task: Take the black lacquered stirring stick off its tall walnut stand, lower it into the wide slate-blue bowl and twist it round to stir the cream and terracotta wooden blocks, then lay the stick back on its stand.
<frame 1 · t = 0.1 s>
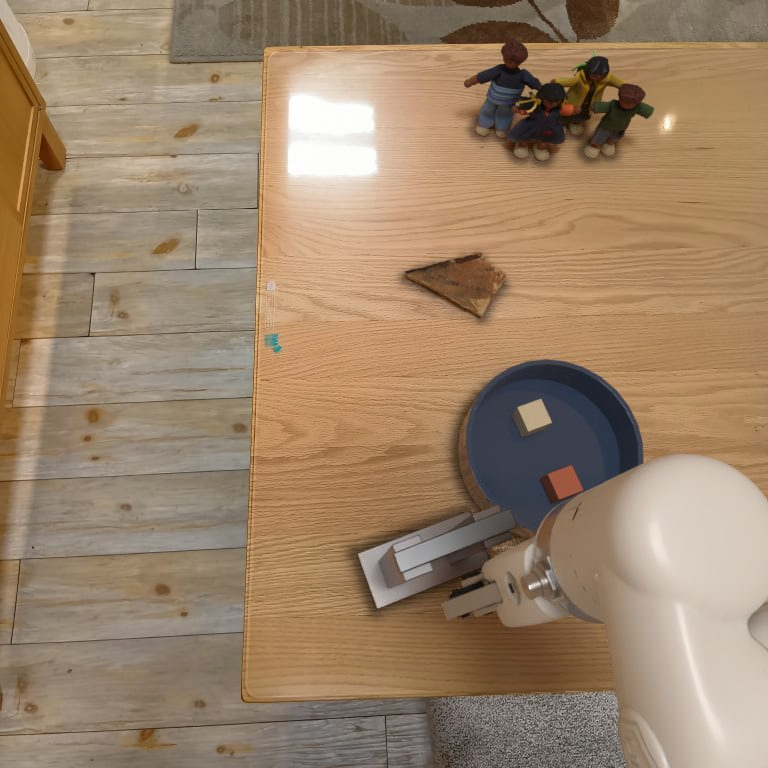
hand: (526, 572, 56), 18 cm above the table, tool pointing down, fingers open, 9 cm apart
terracotta block: (557, 486, 76), point 1 cm above the table, touching bowl
bowl: (540, 455, 78), on the table
stick stand: (423, 559, 74), on the table
shard: (458, 293, 84), on the table
stirring stick: (453, 541, 55), point 20 cm above the table, touching stick stand
cream block: (527, 421, 79), point 1 cm above the table, touching bowl
doll family: (541, 135, 92), on the table
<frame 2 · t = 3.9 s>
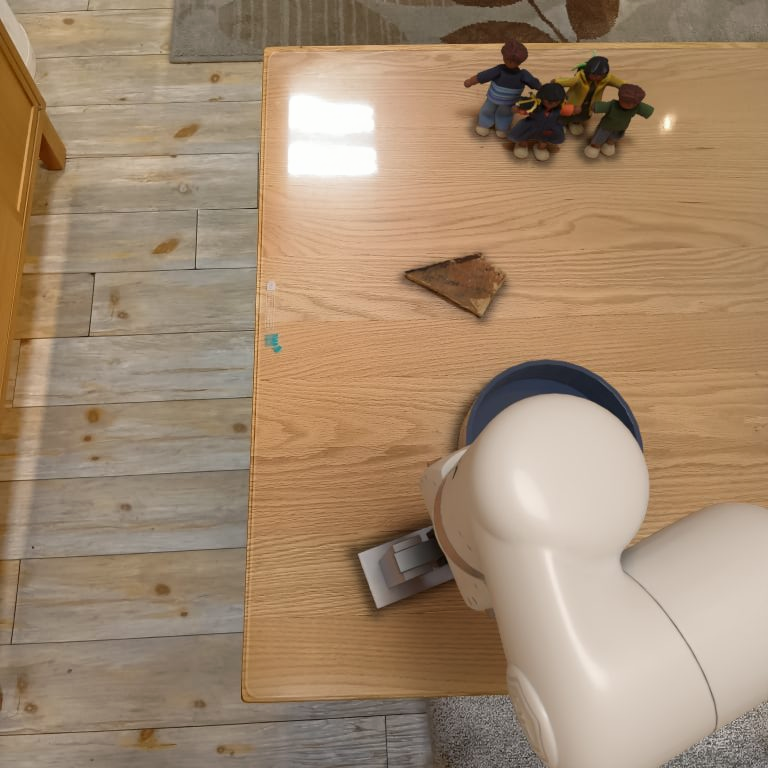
hand: (450, 543, 56), 19 cm above the table, tool pointing down, fingers closed on stirring stick, 1 cm apart
stirring stick: (453, 542, 55), point 20 cm above the table, touching gripper, stick stand
everything else where it was.
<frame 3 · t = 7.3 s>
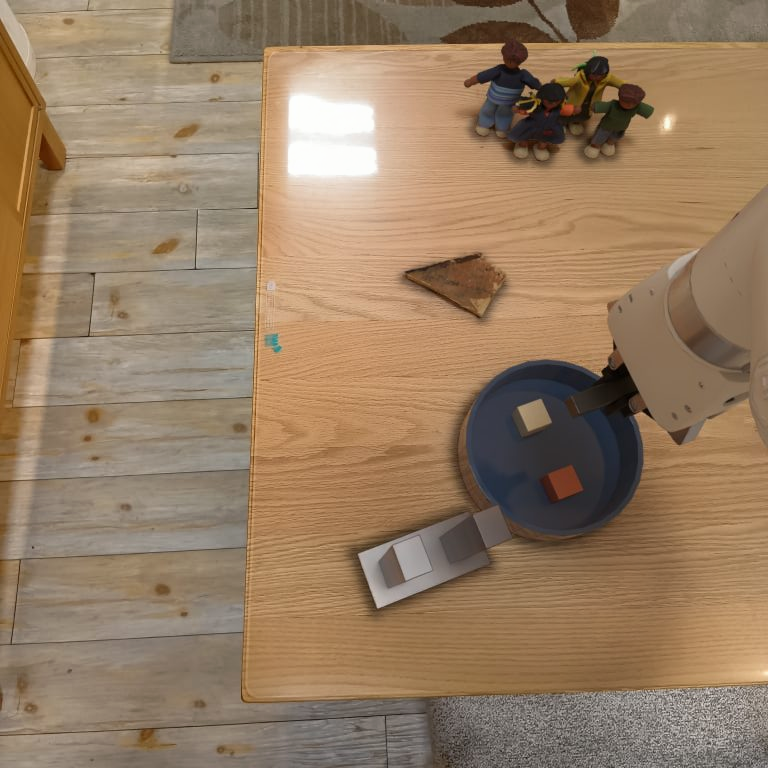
hand: (615, 395, 57), 22 cm above the table, tool pointing down, fingers closed on stirring stick, 1 cm apart
stirring stick: (622, 390, 56), point 24 cm above the table, touching gripper
everything else where it was.
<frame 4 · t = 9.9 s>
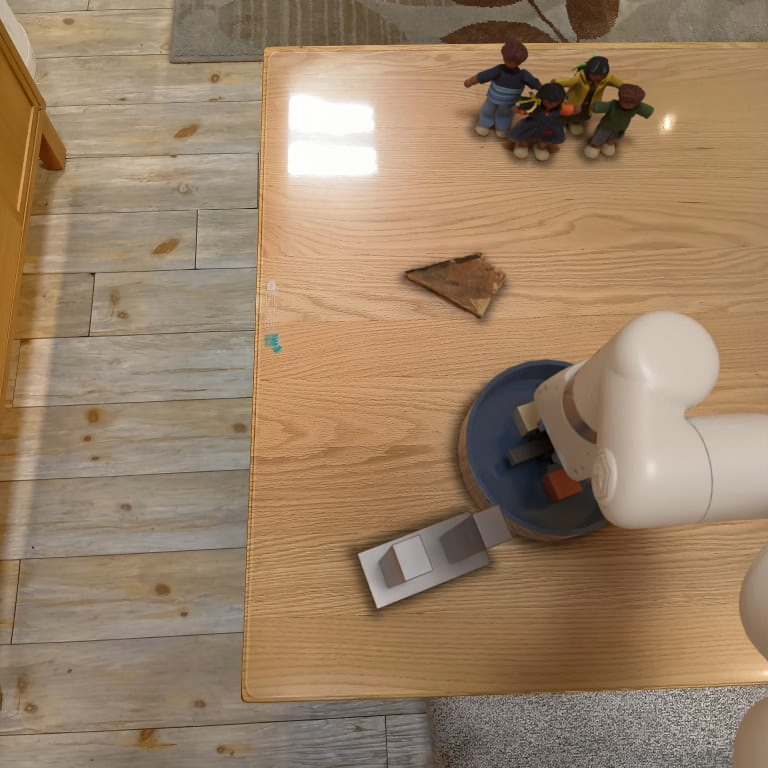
hand: (546, 447, 76), 2 cm above the table, tool pointing down, fingers closed on stirring stick
stirring stick: (550, 444, 75), point 4 cm above the table, touching gripper
cream block: (527, 421, 79), point 1 cm above the table, touching bowl, gripper
everything else where it was.
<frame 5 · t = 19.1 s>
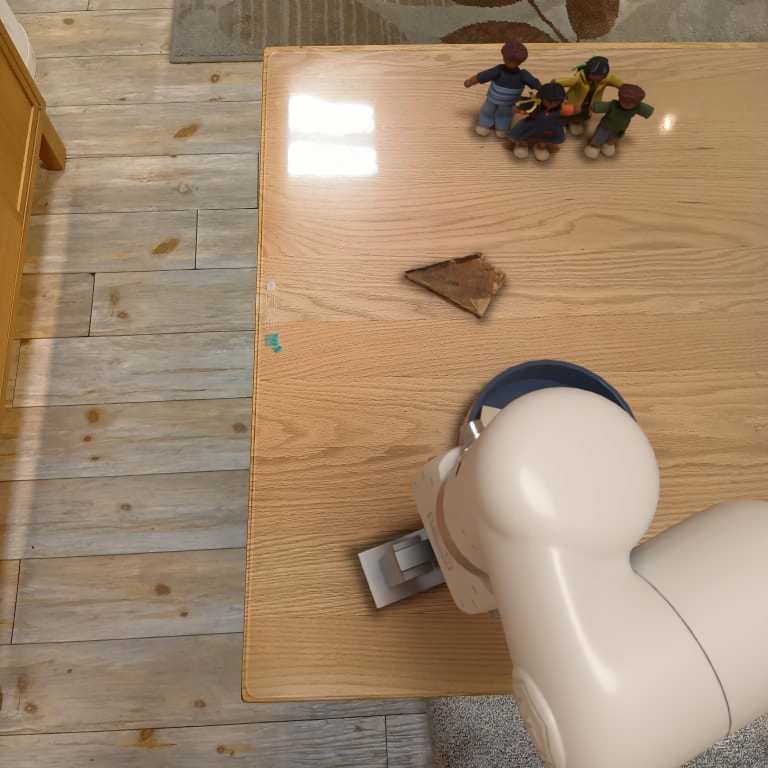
hand: (451, 542, 55), 19 cm above the table, tool pointing down, fingers closed on stirring stick, 1 cm apart
terracotta block: (600, 471, 77), point 1 cm above the table, touching bowl
stirring stick: (454, 540, 54), point 21 cm above the table, touching gripper
cream block: (488, 427, 78), point 1 cm above the table, touching bowl
everything else where it was.
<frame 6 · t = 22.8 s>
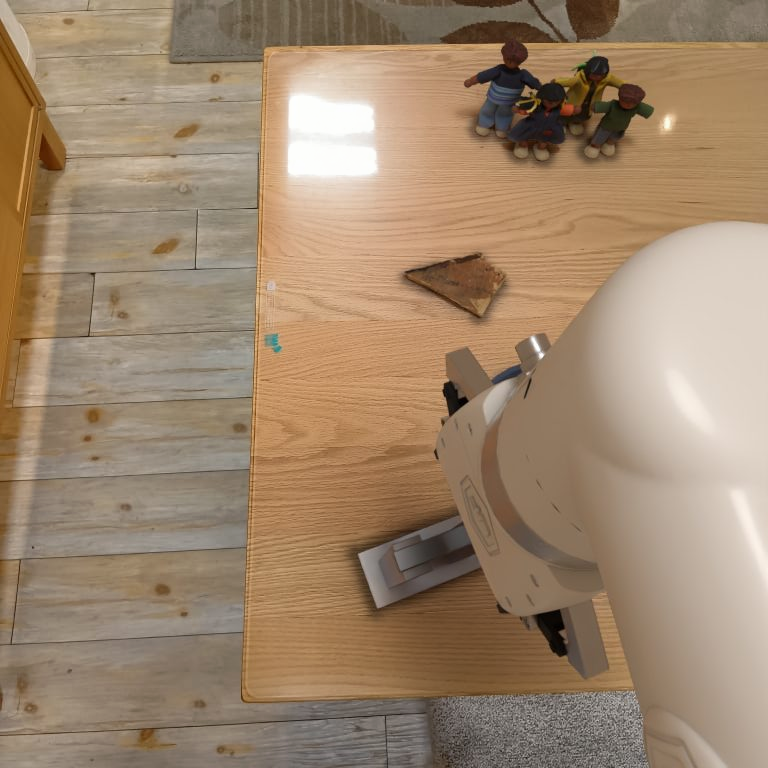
hand: (488, 521, 42), 33 cm above the table, tool pointing down, fingers open, 9 cm apart
stirring stick: (452, 540, 55), point 20 cm above the table, touching stick stand
everything else where it was.
at the end: cream block moved 4.7 cm from its start; cream block inside the target area in the bowl (6.8 cm from its centre), point 0.6 cm above the bowl's base; terracotta block inside the target area in the bowl (6.8 cm from its centre), point 0.6 cm above the bowl's base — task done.
